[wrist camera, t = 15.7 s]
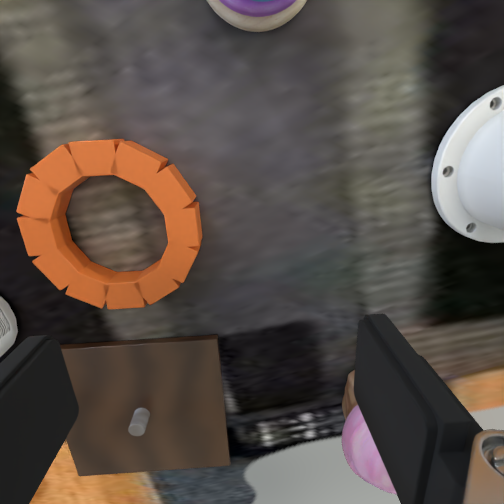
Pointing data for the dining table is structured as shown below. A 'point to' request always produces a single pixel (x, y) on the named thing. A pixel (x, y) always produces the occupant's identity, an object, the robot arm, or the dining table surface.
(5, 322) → the supplement can
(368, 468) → the cupcake
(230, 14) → the stacking toy
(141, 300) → the ring
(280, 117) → the dining table surface
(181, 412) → the board
